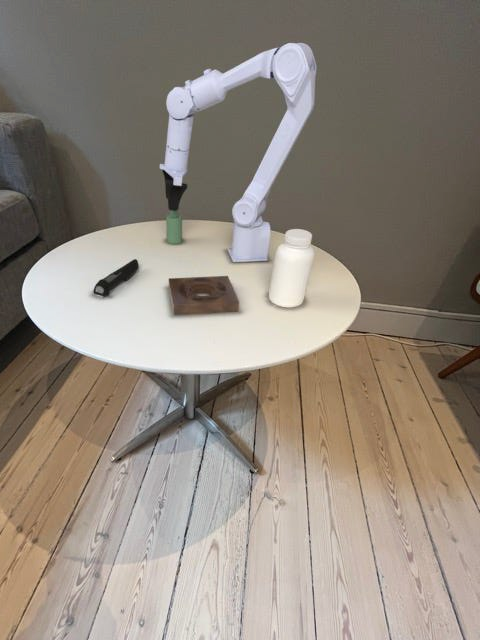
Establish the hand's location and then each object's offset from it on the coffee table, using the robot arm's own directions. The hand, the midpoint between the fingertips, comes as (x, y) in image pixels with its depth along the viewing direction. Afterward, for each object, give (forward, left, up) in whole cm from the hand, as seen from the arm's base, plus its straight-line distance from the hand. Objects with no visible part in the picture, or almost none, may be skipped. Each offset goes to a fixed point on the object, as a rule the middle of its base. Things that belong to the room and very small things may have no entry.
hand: (171, 204), depth 104 cm
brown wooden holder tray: (-4, +33, -11) cm, 35 cm away
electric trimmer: (+15, +23, -11) cm, 30 cm away
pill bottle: (-23, +35, -11) cm, 43 cm away
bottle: (-1, -1, -11) cm, 11 cm away
